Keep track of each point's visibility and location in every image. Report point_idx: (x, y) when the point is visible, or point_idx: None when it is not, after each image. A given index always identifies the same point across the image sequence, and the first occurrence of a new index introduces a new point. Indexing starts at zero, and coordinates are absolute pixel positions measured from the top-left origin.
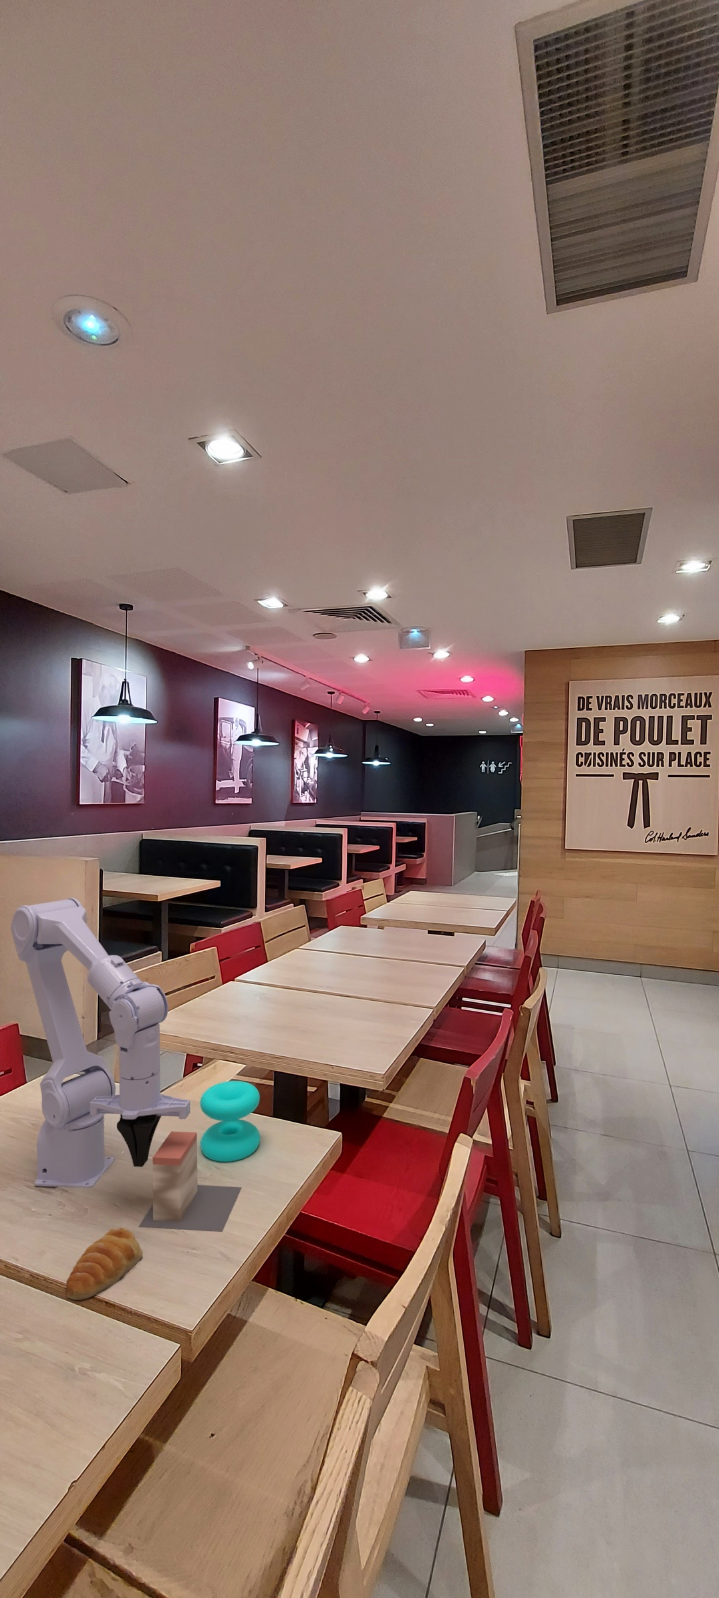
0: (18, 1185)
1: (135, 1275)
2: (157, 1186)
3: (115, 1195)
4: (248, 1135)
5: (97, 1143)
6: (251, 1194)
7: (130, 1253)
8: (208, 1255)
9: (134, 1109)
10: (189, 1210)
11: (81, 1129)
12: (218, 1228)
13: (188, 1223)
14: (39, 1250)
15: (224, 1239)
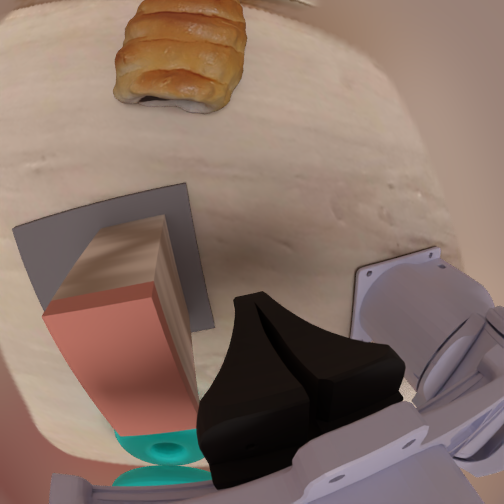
0: (452, 242)
1: (111, 59)
2: (143, 248)
3: (303, 269)
4: (126, 445)
5: (397, 338)
6: (45, 341)
7: (118, 52)
8: (7, 165)
9: (346, 498)
10: None
11: (449, 335)
12: (21, 234)
13: (81, 229)
14: (356, 88)
15: (5, 216)
